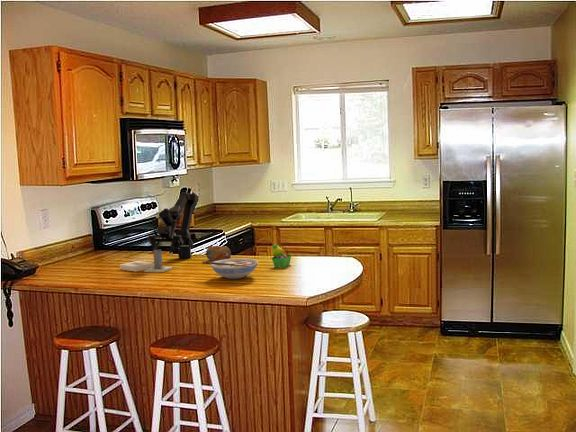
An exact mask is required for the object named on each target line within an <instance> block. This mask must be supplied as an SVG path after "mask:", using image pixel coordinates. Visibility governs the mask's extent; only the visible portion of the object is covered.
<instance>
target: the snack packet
mask: <svg viewBox="0 0 576 432" xmlns="http://www.w3.org/2000/svg"><path fill="white" fill-rule="evenodd" d="M205 253H206V257H207V259H208V260H209V262H215V261H219V260H225V259H231V256H232V251H231V249H230V248H229V247H228V246H226V245H225V246H224V245H223V246H222V245H221V246H218V245H211V246H208V247H207V249H206V252H205Z"/></svg>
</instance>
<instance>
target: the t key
mask: <svg viewBox="0 0 576 432" xmlns="http://www.w3.org/2000/svg"><path fill="white" fill-rule="evenodd" d="M153 252H154V254H153V263H154V266H152V269H164V268H165V267H166V266H165V265H163V255H162V253H163V252H162V249H161V248H160V249H159V248H157V249H155V250H153V249H152V253H153Z"/></svg>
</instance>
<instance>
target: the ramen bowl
mask: <svg viewBox="0 0 576 432" xmlns="http://www.w3.org/2000/svg"><path fill="white" fill-rule="evenodd" d="M202 264H204V265H210V266H211V268H212V270H213V271H214V272H215V273H216V275H219V276H221V277H223V278H227V279H228V280H240V279H243V278H245V277H246V276H248V275H251V274H252V273H253V272H254V271H255V269H256V268H257V266H258V264H259V260H257V259H255V258H253V259H252V258H245V257H244V258H240V257H239V258H230V259H225V260H219V261H203V262H202Z"/></svg>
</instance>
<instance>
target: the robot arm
mask: <svg viewBox="0 0 576 432" xmlns="http://www.w3.org/2000/svg"><path fill="white" fill-rule="evenodd" d="M199 199H200V198H199V196H198V195H197V194H196V193H190V192H181V193H179V197H178V198H177V200H176V202H175V203H174V205H173V206H172V207H171V208H163V210H161V211H159V213H158V218H159V219H160V221H161V223H162V224H164V226H157V227H156V228H157V229H156V233H157V234H158V235H159V236H158V237H157V235H155V234H154V235H148V237H147V241H148V243H149V244H150V245H151V247H152V248H151V249H152V254H153V255H154V252H153V250H155V249H158V246H159V243H161V242H162V243H171V245H170V247H169V251H168V254H169V255H170V254H172V253H173V252H174V251H175V250H176V249H177V248H178V250H177V252H178V254H177V255H178V260H179V259H181V260H182V259H191V258H192V257H193V256H192V248H193V247H194V242H193V239H191V238H192V236H191V233H190V228H191V222H192V218H193V217H192V216H193V211H194V210H195V208H196V207H197V206H198V202H199ZM183 209H184V211H183ZM182 211H183V214H182ZM181 219H182V221H181V227H180V229H179V230H177V231H176V234H175V230H176V228H178V223H177V222H178V221H180V220H181ZM176 221H177V222H176Z"/></svg>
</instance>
